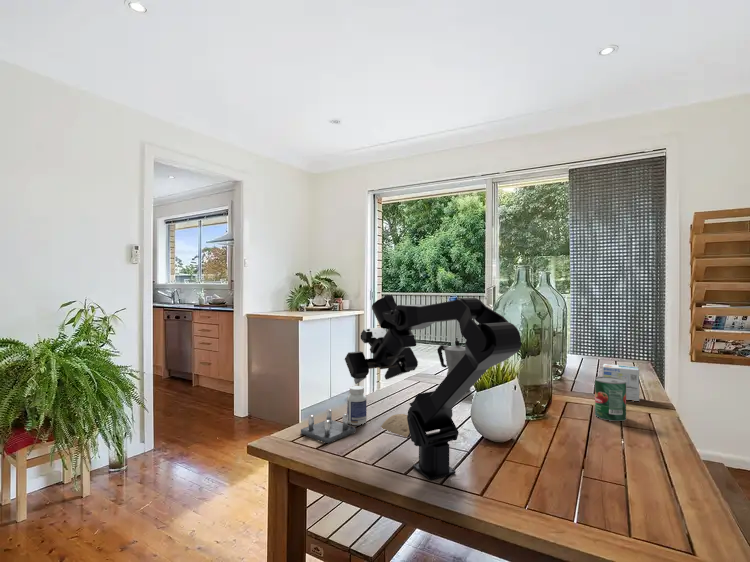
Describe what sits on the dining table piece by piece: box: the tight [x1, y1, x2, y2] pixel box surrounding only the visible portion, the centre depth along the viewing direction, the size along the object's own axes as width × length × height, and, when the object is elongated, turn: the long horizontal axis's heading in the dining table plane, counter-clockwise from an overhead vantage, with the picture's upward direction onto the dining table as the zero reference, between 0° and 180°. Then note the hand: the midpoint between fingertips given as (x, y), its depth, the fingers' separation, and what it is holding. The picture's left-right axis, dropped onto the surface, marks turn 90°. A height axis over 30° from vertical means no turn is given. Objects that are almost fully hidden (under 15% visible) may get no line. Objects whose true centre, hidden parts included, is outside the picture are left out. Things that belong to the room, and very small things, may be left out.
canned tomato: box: [594, 376, 627, 422], centre depth 117 cm, size 8×8×11 cm
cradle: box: [300, 408, 357, 444], centre depth 104 cm, size 10×10×5 cm
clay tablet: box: [380, 413, 410, 438], centre depth 110 cm, size 14×10×3 cm
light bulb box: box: [602, 363, 641, 402], centre depth 137 cm, size 11×7×11 cm, turn 58°
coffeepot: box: [436, 340, 471, 392], centre depth 148 cm, size 15×9×18 cm, turn 44°
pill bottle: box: [346, 385, 368, 426], centre depth 113 cm, size 5×5×10 cm
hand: (370, 380), depth 106 cm, fingers open, 9 cm apart
